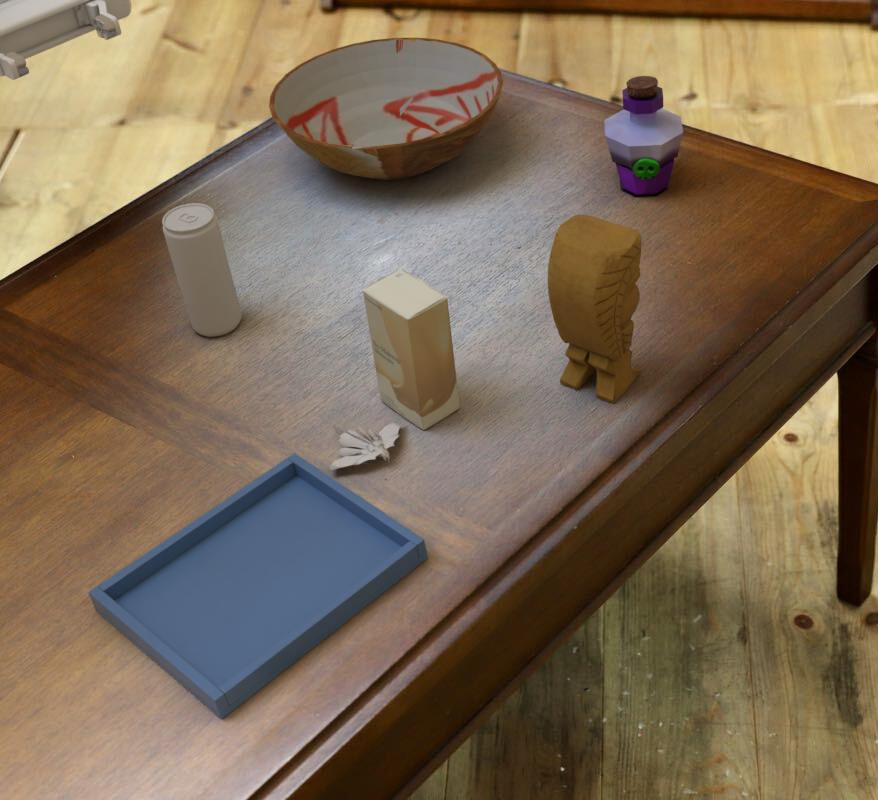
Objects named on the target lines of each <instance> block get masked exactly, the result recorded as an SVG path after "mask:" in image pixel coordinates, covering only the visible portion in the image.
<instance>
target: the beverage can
mask: <svg viewBox="0 0 878 800" xmlns="http://www.w3.org/2000/svg"><path fill="white" fill-rule="evenodd" d="M161 223H162V232H163V234H164V238H165V242H166V245H167V249H168V253H169V256H170V259H171V263H172V266H173V269H174V273H175V277H176V279H177V283H178V287H179V290H180V293H181V295H182V299H183V301H184V305H185V309H186V312H187V315H188V318H189V321H190V326H191V328H192V329H193V330H194V331H195V332H196V333H198V334H199V335H201V336H204V337H207V338H208V337H209V338H215V337H221V336H225V335H227V334H229V333H231V332H233V331H234V330H235V329H236V328H237V327H238V325H239V324H240V322H241V321H242V316H243V315H242V310H241V305H240V302H239V298H238V294H237V290H236V286H235V283H234V279H233V275H232V271H231V266H230V263H229V259H228V255H227V251H226V248H225V244H224V240H223V237H222V233H221V228H220V225H219V221H218V217H217V215H216V214H215V212H214V209H213V208H212V207H211V206H210V205H208V204H205V203H200V202H199V203H198V202H192V203H185V204H181V205H178V206H175V207H173V208H171V209H170V210H168V211H167V212H166V213H165V214H164V215H163V216H162V220H161Z"/></svg>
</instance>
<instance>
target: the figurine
mask: <svg viewBox="0 0 878 800" xmlns="http://www.w3.org/2000/svg"><path fill="white" fill-rule="evenodd" d="M551 245H552V246H551V249H550V254H549V258H548V265H547V292H548V301H549V306H550V309H551V314H552V318H553V322H554V324H555V327H556V329H557V333H558V335H559V337H560V339H561V341H562V342H563V343H565V344H568V346H567V348H566V350H565V354H564V356H565V357H566V358H568V359H569V360H568V362H567V364H566V365H565V368H564V370H563V373H562V375H561V376H560V379H559V383H560V384H561V385H563V386H564V387H568V388H570V389H573V390H575V391H577V390H579V389H580V388H581V387H582V386H583V385H584V384H585V383H586V382H587V381H588V380H589V378H591V376H592V375H593V374H594V373H595V372H596V385H595V397H596V398H597V399H598V400H599V399H600V400H602V401H605V402H607V403H609V404H615V403H616V402H617V401H618V400H619V399H620V398H621V397H622V396H623V394H625V392H626V391H627V390H628V389H629V388H630V387H631V385H632V384H633V383H634V382H635V380H636V379H637V378H638V377H639V376H640V375H641V370H640V369H638V368H635V367H631V362H632V356H633V351H632V350H631V349H630V348H631V347H632V342H633V335H634V329H635V327H634V326H635V323H634V321H633V320H632V317H633V315H634V314H635V312H636V310H637V308H638V305H639V303H640V300H641V298H640V296H641V295H640V289H639V286H638V285H637V284H636V283H637V282H638V280H639V278H640V277H641V274H642V273H641V268H640V264H641V257H642V234H641V233H640V232H639V231H638V230H637V229H633V228H631V227H629V226H625V225H622V224H618V223H616V222H615V223H614V222H611V221H608V220H605V219H602V218H599V217H596V216H592V215H588V214H575V215H572V217H569V219H567V220H565V221H564V222H562V223H561V224H560V225H559V227H558V229H557V230H556V233H555V235H554V238H553V242H552V244H551Z"/></svg>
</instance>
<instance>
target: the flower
mask: <svg viewBox="0 0 878 800" xmlns="http://www.w3.org/2000/svg"><path fill="white" fill-rule="evenodd" d="M402 422H403V420H400V421H395V422H391V423H389V424H387V425H385V426H384V427H383V428H382V429H381V430H380V431H379V432H378V434H379V437H381V440H379V438H378V437H377V435H376V433H375V432H374V430H373V429H368V433H369V435H370V436H371V437H372V438H371V437H370V436H369V435H368V433H367V432H366V430H365V429H364V428H363V427H361V426H359V425H358V426H357V429H358V430H359V431H360V432H361V433H362V434H363V435H365V436H366V437H367V438H368V439H369V440H368V439H367V438H366V437H363V436H362V435H361V434H360V433H359V432H357V431H355V430H353V429H347V431H344V430H343V429H342V428H340V427H339V426H336V425H332V426H331V428H332V429H333V430H334V431H335V432H336V433H337V434H339V439H338V440H337V441H338V442H339V444H340V445H341V446H343V447H342V448H339V450H338V451H337V454H338V455H339V456H341V457H340V458H338V459H336V460H334V461H333V462H332V463H331V465H330V466H329V471H334V470H337V469H342V468H345V467H349V466H353V465H354V466H358V465H360V464H362V463H364V462H366V461H371V460H373V461H375V460H376V459H377V458H378V457H381V458H383V460H385V462H387V460H388V463H391V461H390V459H391V456H390V452H389V451H388V449H390V448H391V447H395V441H396V440H397V439H398V438H399V437H400V436H401V434H399V431H400V427H401V425H402Z"/></svg>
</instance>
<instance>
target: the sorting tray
mask: <svg viewBox="0 0 878 800" xmlns="http://www.w3.org/2000/svg"><path fill="white" fill-rule="evenodd" d="M426 560H428V552H427V546H426V542H425V539H424V538H423V537H421V536H420V535H418V534H417V533H415V532H414V531H412V530H411V529H409V528H408V527H406V526H404V525H403V524H402V523H400V522H399V521H398V520H396V519H394V518H393V517H392V516H390V515H388V514H387V513H385V512H383V510H380V508H378V507H376V506H375V505H373V504H372V503H370V502H368V501H367V500H366V499H364V498H363V497H361V496H360V495H359V494H357V493H355V492H353V490H351V489H349V488H348V487H346V486H345V485H344V484H342V483H340V482H339V481H337V480H336V479H334V478H333V477H332V476H330V475H328V474H327V473H325V472H324V471H322V470H321V469H320V468H318V467H316V466H315V465H313V464H312V463H310V461H309V462H308V461H307V460H306V459H304V458H303V457H301V456H300V455H298V454H297V453H292V454H291V455H289V456H288V457H286V458H285V459H283V460H282V461H280V462H279V463H278V464H276V465H274V466H273V467H271V468H270V469H269V470H267V471H266V472H264V473H263V474H261V475H259V476H258V477H256V478H255V479H254V480H252V481H251V482H249V483H248V484H246V485H245V486H243V487H242V488H240V489H239V490H237V491H236V492H235V493H233V494H231V495H230V496H228V497H227V498H226V499H224V500H222V501H221V502H220V503H218V504H217V505H215V506H214V507H212V508H211V509H209V510H208V511H206V512H204V513H203V514H202V515H200V516H199V517H197V518H196V519H194V520H193V521H191V522H190V523H189V524H187V525H185V526H184V527H183V528H181V529H180V530H178V531H177V532H176V533H175V532H174V534H172V535H171V536H169V537H168V538H166V539H165V540H163V541H162V542H160V543H159V544H158V545H156V546H154V547H153V548H152V549H150V550H148V551H147V552H146V553H144V554H143V555H141V556H140V557H138V558H136V559H135V560H134V561H132V562H131V563H130V564H128V565H126V566H124V567H123V568H122V569H120V570H119V571H118V572H116V573H114V574H113V575H112V576H109V578H107V579H106V580H103V582H101V583H99V584H98V585H97V586H95V587H93V588H92V589H90V590H89V591H88V592H87V593H88V596H89V598H90V600H91V603H92V605H93V608H94V610H95V612H96V613H98V614H99V615H100V616H101V617H102V618H103V619H104V620H105V621H107V622H108V623H109V624H110V625H112V626H113V627H114V628H115V629H116V630H117V631H119V633H121V634H122V635H123V636H124V637H125V638H127V639H128V640H129V641H130V642H131V643H132V644H133V645H135V646H136V647H137V648H138V649H139V650H140V651H141V652H143V653H144V654H145V655H146V656H148V657H149V658H150V659H151V660H152V661H153V662H154V663H156V664H157V665H158V666H159V667H160V668H161V669H163V670H164V672H166V673H167V674H168V675H170V676H171V677H172V678H173V679H174V680H175V681H177V682H178V683H179V684H180V685H181V687H183V688H185V689H186V690H187V691H188V692H189V693H190V694H191V695H193V696H194V697H195V698H196V699H197V700H199V702H200V703H202V704H203V705H204V706H205V707H206V708H208V709H209V710H210V711H211V712H213V713H214V714H215V715H216V716H217V717H218V718H219V719H220V720H223V719H224V718H225V717H227V716H229V714H231V713H232V712H233V711H234V710H236V709H237V708H239V706H241V705H242V704H243V703H245V702H246V701H247V700H249V699H250V698H251V697H252V696H254V695H255V694H256V693H258V692H259V691H260V690H261V689H263V688H264V687H265V686H266V685H268V684H269V683H270V682H272V681H273V680H274V679H275V678H277V677H278V676H280V674H282V673H283V672H285V670H287V669H288V668H290V667H291V666H292V665H293V664H295V663H296V662H297V661H298V660H300V659H301V658H302V657H304V656H305V655H306V654H308V653H309V652H310V651H311V650H313V649H314V648H315V647H316V646H317V645H319V644H320V643H321V642H323V641H324V640H326V639H327V638H328V637H329V636H330V635H332V634H333V633H334V632H336V631H337V630H338V629H339V628H340V627H342V626H343V625H344V624H346V623H347V622H348V621H350V620H351V619H352V618H353V617H355V616H356V615H357V614H359V612H361V611H362V610H363V609H365V608H366V607H367V606H368V605H371V603H372V602H374V601H375V600H376V599H378V598H379V597H380V596H381V595H383V594H384V593H385V592H387V591H388V590H389V589H390V588H391V587H393V586H394V585H395V584H397V583H398V582H399V581H401V580H403V578H404V577H406V576H407V575H408V574H410V573H411V572H412V571H413V570H415V569H416V568H417V567H418V566H420V565H421V564H422V563H423V562H425V561H426Z"/></svg>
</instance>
